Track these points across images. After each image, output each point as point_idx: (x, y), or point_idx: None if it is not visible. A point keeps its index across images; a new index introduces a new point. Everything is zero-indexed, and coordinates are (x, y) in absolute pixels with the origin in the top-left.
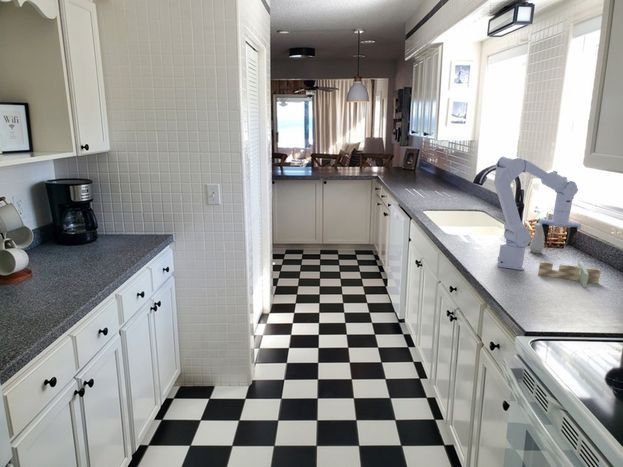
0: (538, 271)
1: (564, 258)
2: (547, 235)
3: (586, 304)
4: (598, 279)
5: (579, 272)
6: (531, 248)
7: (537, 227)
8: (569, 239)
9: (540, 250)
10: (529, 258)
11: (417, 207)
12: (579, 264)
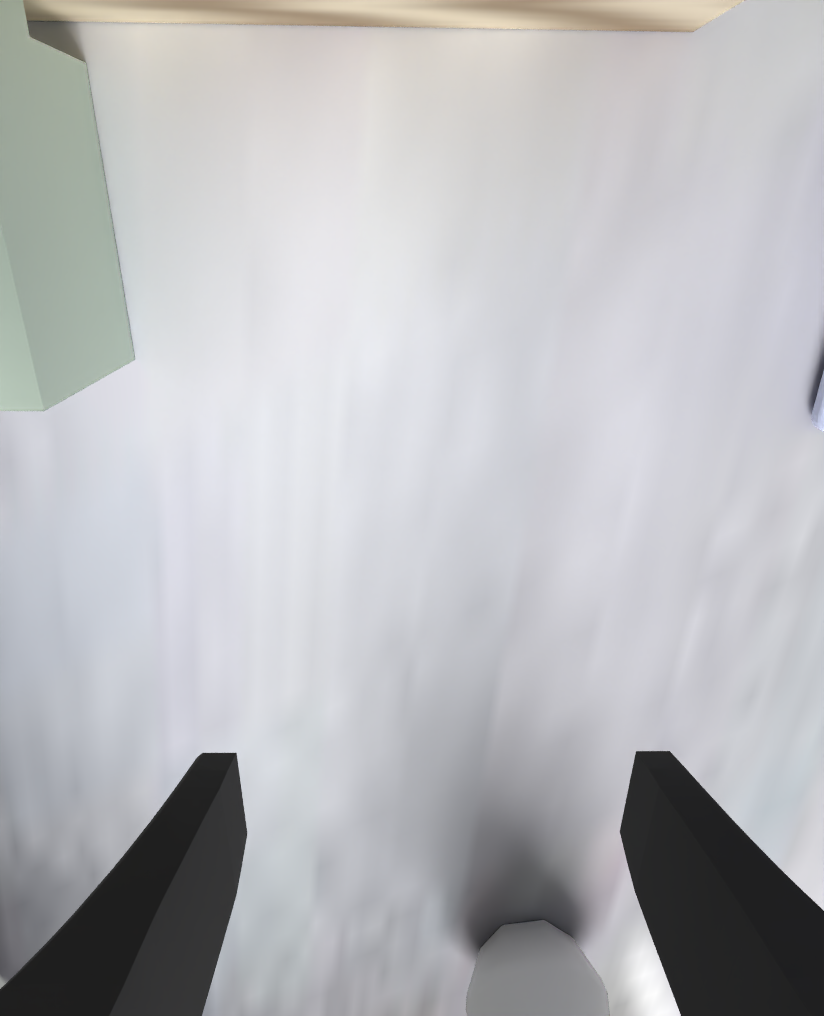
0: (712, 15)
1: (267, 886)
2: (754, 918)
3: None
4: None
5: (45, 97)
6: (590, 969)
7: None
8: (135, 885)
9: (500, 956)
10: (638, 739)
11: None
12: (19, 260)
